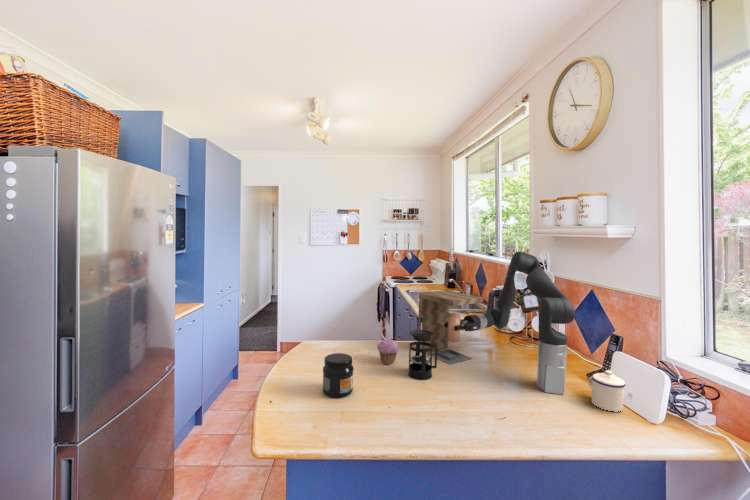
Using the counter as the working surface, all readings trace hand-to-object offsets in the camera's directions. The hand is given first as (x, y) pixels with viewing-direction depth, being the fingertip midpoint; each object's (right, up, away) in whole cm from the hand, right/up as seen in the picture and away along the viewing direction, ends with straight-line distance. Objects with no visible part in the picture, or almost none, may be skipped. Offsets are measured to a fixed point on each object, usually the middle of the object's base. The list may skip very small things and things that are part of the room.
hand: (449, 326), depth 152 cm
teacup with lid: (+42, -17, -40) cm, 61 cm away
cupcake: (-29, -14, -8) cm, 33 cm away
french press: (-16, -15, -20) cm, 29 cm away
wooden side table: (0, -14, +1) cm, 14 cm away
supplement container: (-47, -15, -36) cm, 61 cm away
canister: (+2, -7, +2) cm, 7 cm away
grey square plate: (0, -14, +1) cm, 14 cm away
